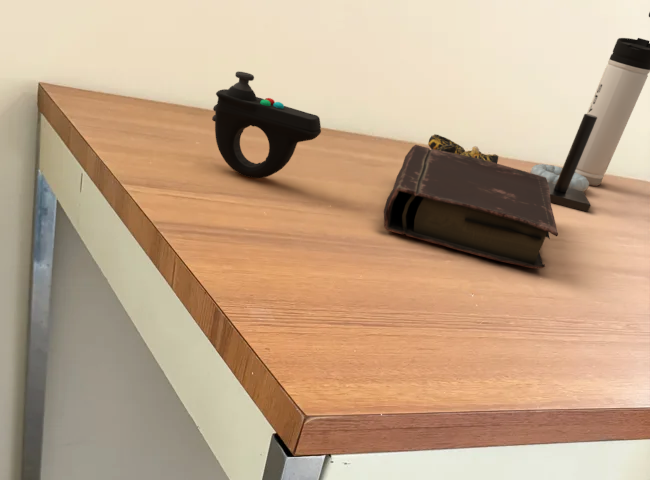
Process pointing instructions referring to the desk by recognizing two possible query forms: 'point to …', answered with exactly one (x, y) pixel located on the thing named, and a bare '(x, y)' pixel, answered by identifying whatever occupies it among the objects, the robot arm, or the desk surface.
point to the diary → (471, 206)
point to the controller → (271, 117)
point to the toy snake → (458, 148)
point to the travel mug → (614, 105)
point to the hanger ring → (553, 175)
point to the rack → (573, 170)
